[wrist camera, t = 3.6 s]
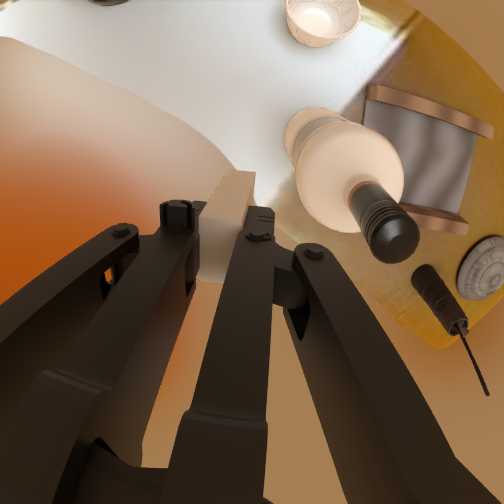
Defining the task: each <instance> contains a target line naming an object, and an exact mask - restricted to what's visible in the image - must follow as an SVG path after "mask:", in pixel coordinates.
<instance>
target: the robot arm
mask: <svg viewBox="0 0 504 504" xmlns="http://www.w3.org/2000/svg"><path fill="white" fill-rule="evenodd" d="M87 1H89V2H92V3H95V4H98V5H103V6H110V5H116V4H120V3H123V2H126V1H128V0H87ZM255 173H256V172H247V171H237V170H228V171H227V173H226V174H225V176H224V177H223V179H222V180H221V182H220V183H219V185H218V186H217V188H216V190H215V191H214V193H213V194H212V196H211V198H210V199H209V201H208V202H203V201H193V202H190V201H187V200H170V201H166V202H163V203H162V204H160V225H161V226H160V227H159V228H158V230H157V231H156V232H155V233H154V234H153V235H139V230H138V227H137V226H135V225H133V224H127V223H119V224H117V225H113V226H111V227H109V228H108V229H106V230H104V231H103V232H101V233H100V234H98V235H96V236H95V237H93V238H92V239H90V240H89V241H87V242H86V243H84V244H83V245H82V246H80V247H78V248H77V249H75V250H74V251H72V252H71V253H69V254H68V255H67V256H65V257H64V258H62V259H61V260H59V261H58V262H57V263H55V264H54V265H52V266H51V267H50V268H48V269H47V270H45V271H44V272H43V273H41V274H40V275H39V276H37V277H36V278H35V279H33V280H32V281H31V282H29V283H28V284H27V285H25V286H24V287H23V288H21V289H20V290H19V291H18V292H16V293H15V294H14V295H13V296H11V297H10V298H9V299H8V300H6V301H5V302H4V303H3V304H1V305H0V504H273V503H272V502H270V501H269V500H268V499H266V498H264V497H263V490H264V478H265V464H266V452H267V436H268V424H267V422H266V404H267V390H268V389H267V388H268V374H269V358H270V341H271V340H270V339H271V322H272V303H273V304H276V305H279V306H282V307H283V314H284V317H285V320H286V323H287V326H288V329H289V331H290V334H291V337H292V340H293V343H294V346H295V349H296V352H297V355H298V358H299V361H300V363H301V366H302V369H303V372H304V375H305V378H306V381H307V384H308V387H309V390H310V393H311V396H312V399H313V402H314V405H315V408H316V411H317V414H318V417H319V420H320V422H321V425H322V429H323V432H324V435H325V438H326V441H327V444H328V447H329V450H330V453H331V456H332V459H333V462H334V465H335V468H336V471H337V474H338V477H339V480H340V483H341V486H342V489H343V492H344V495H345V498H346V500H347V502H348V504H501V502H500V501H499V500H498V499H497V498H496V497H495V496H494V495H492V494H491V493H490V492H489V491H488V490H487V488H485V487H484V485H483V484H482V483H481V482H480V481H478V479H477V478H475V476H474V475H472V473H471V472H470V471H468V470H467V469H466V468H465V466H463V464H462V463H461V462H460V461H459V460H458V459H457V458H456V457H455V456H454V454H453V452H452V449H451V447H450V446H449V443H448V442H447V440H446V438H445V436H444V434H443V432H442V430H441V428H440V426H439V424H438V422H437V421H436V418H435V417H434V415H433V413H432V411H431V409H430V408H429V406H428V404H427V402H426V400H425V398H424V397H423V395H422V393H421V391H420V390H419V388H418V386H417V384H416V382H415V381H414V379H413V377H412V376H411V374H410V372H409V370H408V369H407V367H406V365H405V364H404V362H403V360H402V359H401V357H400V356H399V354H398V352H397V351H396V349H395V347H394V346H393V344H392V343H391V341H390V339H389V338H388V336H387V334H386V333H385V331H384V330H383V328H382V326H381V325H380V323H379V322H378V320H377V319H376V317H375V315H374V314H373V312H372V311H371V310H370V308H369V306H368V305H367V303H366V302H365V300H364V299H363V297H362V296H361V294H360V293H359V291H358V290H357V288H356V287H355V285H354V284H353V282H352V281H351V279H350V278H349V276H348V275H347V274H346V272H345V271H344V269H343V268H342V266H341V265H340V263H339V262H338V261H337V259H336V258H335V256H334V255H333V254H332V252H331V251H330V250H329V249H327V248H325V247H323V246H322V245H319V244H316V243H303V244H300V245H297V246H296V248H295V250H294V251H290V250H288V249H285V248H283V247H281V246H279V245H278V244H277V243H276V242H275V237H274V221H275V212H274V211H273V210H272V209H271V208H268V207H259V206H252V204H253V193H254V183H255ZM109 268H110V272H111V276H112V279H111V280H110V281H109V282H107V281H106V278H105V274H104V272H105V271H107V270H108V269H109ZM198 270H199V281H204V282H212V283H219V284H223V288H222V291H221V295H220V298H219V302H218V306H217V309H216V313H215V316H214V320H213V324H212V328H211V331H210V335H209V339H208V342H207V346H206V350H205V354H204V357H203V361H202V365H201V369H200V373H199V376H198V380H197V384H196V388H195V392H194V396H193V400H192V403H191V406H190V408H189V410H187V411H185V412H184V414H183V416H182V418H181V421H180V424H179V427H178V431H177V435H176V439H175V443H174V447H173V450H172V455H171V458H170V462H169V466H168V468H142V467H141V463H142V441H143V437H144V433H145V431H146V427H147V424H148V421H149V418H150V415H151V412H152V409H153V406H154V403H155V400H156V397H157V394H158V391H159V388H160V385H161V382H162V379H163V376H164V374H165V371H166V368H167V365H168V362H169V359H170V356H171V354H172V351H173V348H174V345H175V342H176V340H177V337H178V334H179V332H180V329H181V326H182V324H183V321H184V318H185V315H186V312H187V310H188V307H189V305H190V302H191V299H192V297H193V294H194V291H195V289H196V275H197V273H198Z"/></svg>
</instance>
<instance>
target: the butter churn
mask: <svg viewBox="0 0 504 504" xmlns="http://www.w3.org/2000/svg"><path fill="white" fill-rule="evenodd" d="M411 282H412V285H413V286H414V288H415V289H416V290H417V292H418V293H419V294H420V296H421V297H422V298H423V300H424V301H425V302H426V303H427V304H428V306H429V307H430V309H431V310H432V311H433V313H434V315H435V316H436V317H437V318H438V320H439V321H440V322H441V324H442V325H443V327H444V328H445V330H446V331H447V332H448V334H449V335H451V336H456V335H458V334H459V335H460V337H461V339H462V341H463V343H464V345H465V347H466V350H467V351H468V353H469V356H470V358H471V360H472V363H473V365H474V368H475V370H476V372H477V374H478V377H479V380H480V382H481V385H482V387H483V390H484V392H485V394H486V396H489V395H490V394H489V392H488V389H487V387H486V384H485V382H484V379H483V377H482V375H481V372H480V370H479V367H478V365H477V363H476V361H475V359H474V357H473V355H472V353H471V350H470V349H469V347H468V344H467V342H466V339H465V337H463V334H464V336H466V335H467V334H468V333H469V330H468V329H466V328H467V327H468V318H467V317H466V315H465V313H464V312H463V310H462V308H461V307H460V305H459V304H458V302H457V301H456V299H455V297H454V296H453V295H452V294H451V292H450V291H449V289H448V288H447V286H446V285H445V283H444V281H443V280H442V279H441V278H440V277H439V275H438V274H437V272H436V271H435V270H434V268H433V267H432V266H430V265H427V264H426V265H422V266H420V267H419V268H417V270H416V271H415V272H414V273H413V275H412V278H411ZM462 333H463V334H462Z"/></svg>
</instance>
